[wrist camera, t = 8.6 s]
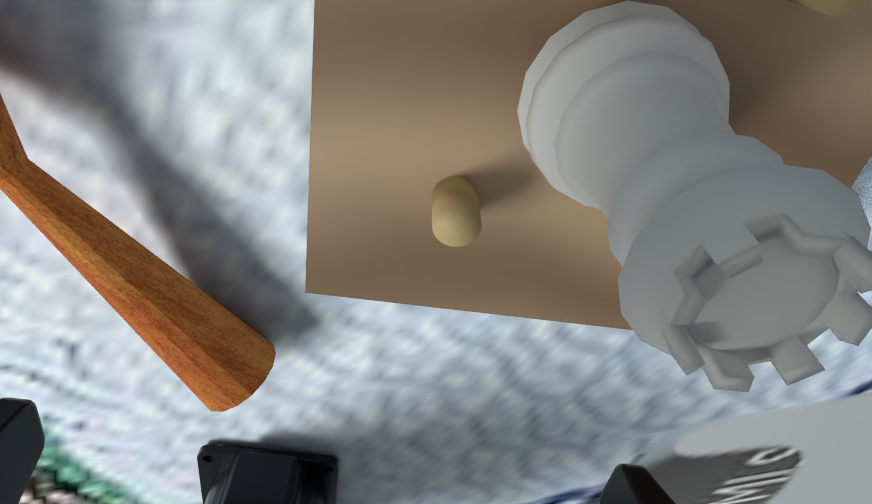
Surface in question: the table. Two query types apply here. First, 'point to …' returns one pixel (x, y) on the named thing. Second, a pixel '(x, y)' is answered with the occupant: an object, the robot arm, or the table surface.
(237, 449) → the robot arm
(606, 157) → the rook chess piece
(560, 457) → the table surface
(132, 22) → the table surface
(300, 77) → the table surface
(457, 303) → the peg board
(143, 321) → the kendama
